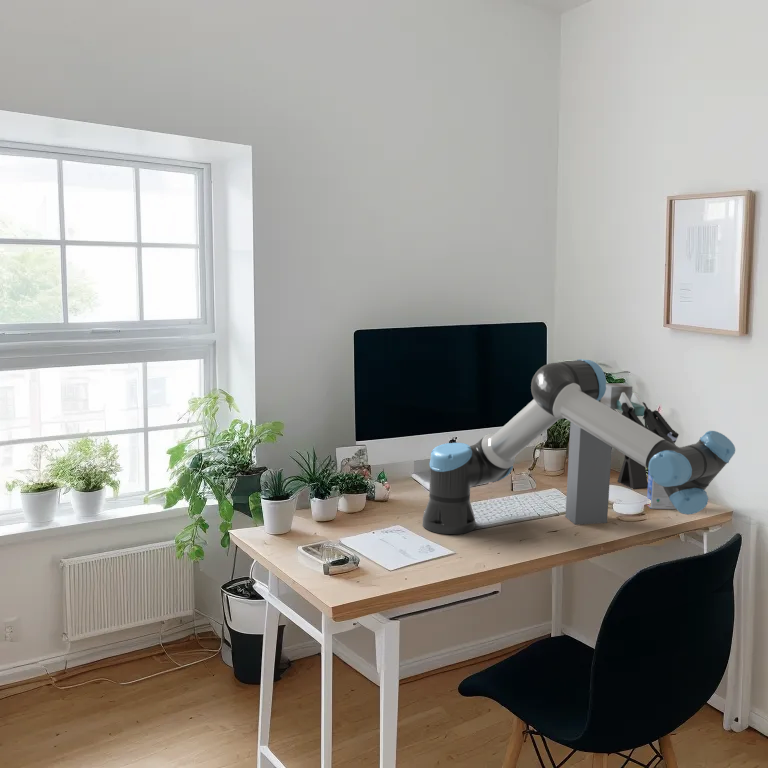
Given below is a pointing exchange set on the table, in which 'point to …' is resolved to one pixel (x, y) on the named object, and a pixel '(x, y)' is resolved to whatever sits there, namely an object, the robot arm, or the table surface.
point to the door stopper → (633, 474)
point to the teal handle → (614, 395)
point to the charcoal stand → (587, 478)
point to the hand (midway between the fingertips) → (627, 396)
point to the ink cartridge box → (658, 495)
